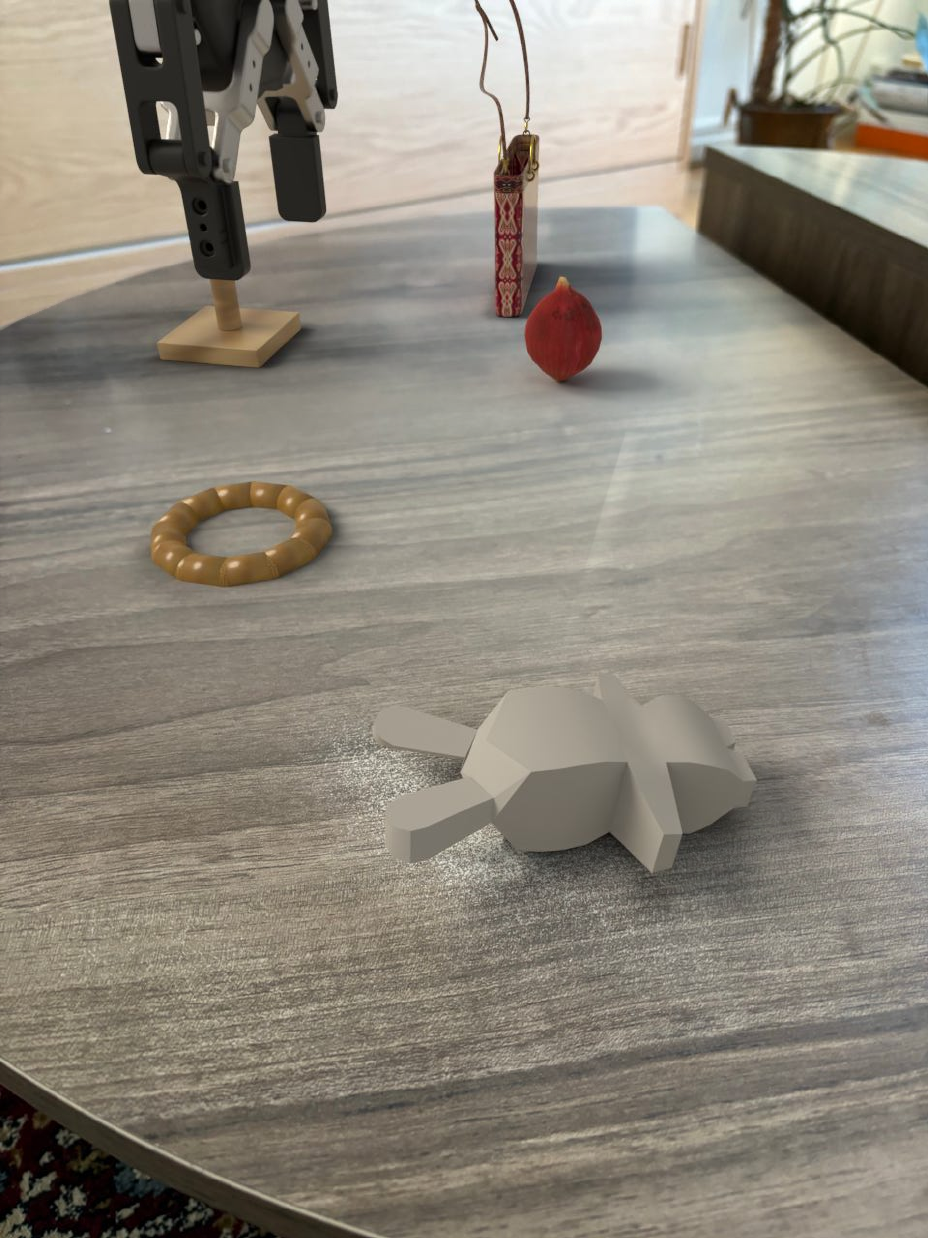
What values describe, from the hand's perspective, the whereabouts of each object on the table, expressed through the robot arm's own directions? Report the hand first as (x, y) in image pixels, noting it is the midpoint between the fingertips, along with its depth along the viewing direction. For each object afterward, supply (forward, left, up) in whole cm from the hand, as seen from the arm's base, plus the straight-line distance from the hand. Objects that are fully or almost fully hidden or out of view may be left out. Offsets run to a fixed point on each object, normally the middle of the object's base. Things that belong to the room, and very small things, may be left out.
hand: (266, 246), depth 44 cm
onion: (+8, +31, -19) cm, 37 cm away
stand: (-21, +33, -19) cm, 43 cm away
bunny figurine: (+16, -13, -19) cm, 28 cm away
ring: (-6, +3, -18) cm, 19 cm away
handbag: (-2, +53, -19) cm, 56 cm away
